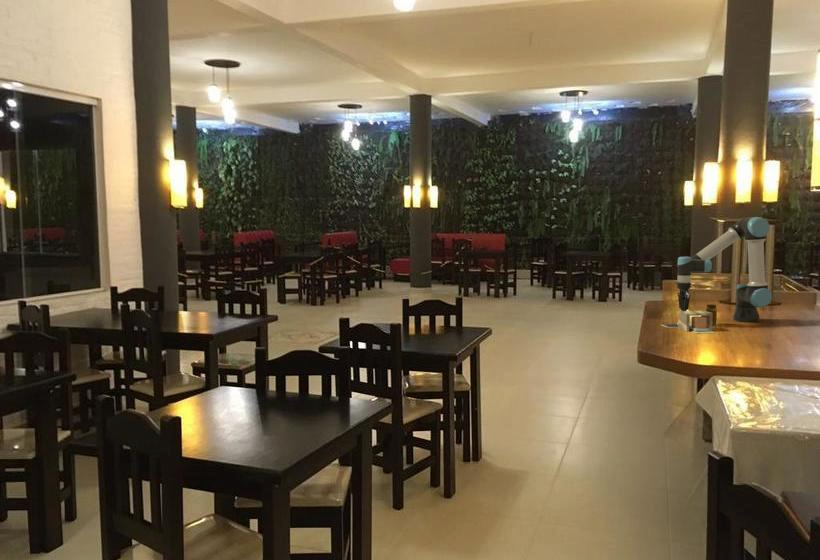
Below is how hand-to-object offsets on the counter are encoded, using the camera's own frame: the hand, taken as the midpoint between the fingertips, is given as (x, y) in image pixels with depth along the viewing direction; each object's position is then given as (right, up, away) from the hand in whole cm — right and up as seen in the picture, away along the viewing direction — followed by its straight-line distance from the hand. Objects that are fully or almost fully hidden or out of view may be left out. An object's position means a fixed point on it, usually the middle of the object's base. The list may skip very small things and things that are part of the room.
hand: (683, 320), depth 420 cm
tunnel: (+1, -4, -15) cm, 16 cm away
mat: (+1, -5, -26) cm, 26 cm away
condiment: (+17, -3, +2) cm, 17 cm away
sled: (+1, -3, -12) cm, 13 cm away
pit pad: (-4, -3, -2) cm, 5 cm away
